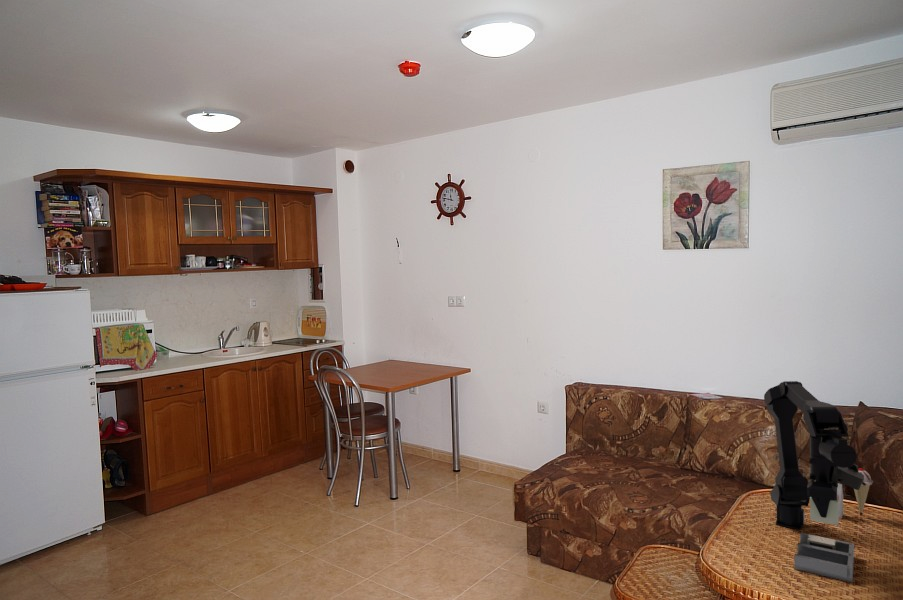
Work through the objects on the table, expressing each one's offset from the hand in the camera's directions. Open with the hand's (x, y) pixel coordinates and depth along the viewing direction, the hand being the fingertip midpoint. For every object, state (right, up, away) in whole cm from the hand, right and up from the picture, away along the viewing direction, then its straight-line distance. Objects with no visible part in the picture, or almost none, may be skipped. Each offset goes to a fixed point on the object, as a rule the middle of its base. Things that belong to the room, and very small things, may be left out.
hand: (823, 514), depth 149 cm
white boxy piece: (+18, -10, +26) cm, 34 cm away
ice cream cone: (+26, -10, +23) cm, 36 cm away
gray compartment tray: (0, -12, -1) cm, 12 cm away
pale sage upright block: (0, -2, 0) cm, 2 cm away
